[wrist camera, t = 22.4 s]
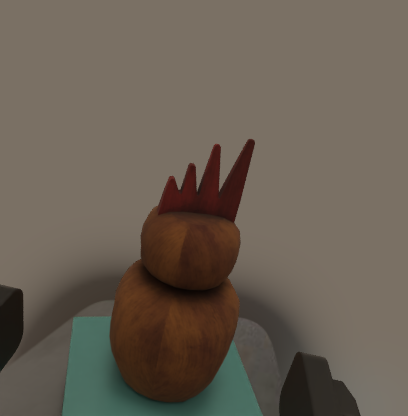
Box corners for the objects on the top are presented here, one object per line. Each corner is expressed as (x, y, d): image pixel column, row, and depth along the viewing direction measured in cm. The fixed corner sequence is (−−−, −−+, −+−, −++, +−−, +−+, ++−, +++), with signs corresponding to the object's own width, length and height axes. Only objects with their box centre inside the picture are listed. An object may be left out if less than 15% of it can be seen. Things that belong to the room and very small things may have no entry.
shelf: (51, 551, 19) (54, 471, 16) (69, 387, 28) (73, 316, 25) (244, 517, 22) (274, 444, 20) (206, 378, 31) (223, 315, 28)
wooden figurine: (223, 356, 24) (287, 138, 18) (207, 437, 19) (288, 169, 13) (129, 327, 25) (160, 108, 19) (88, 396, 20) (113, 126, 14)
